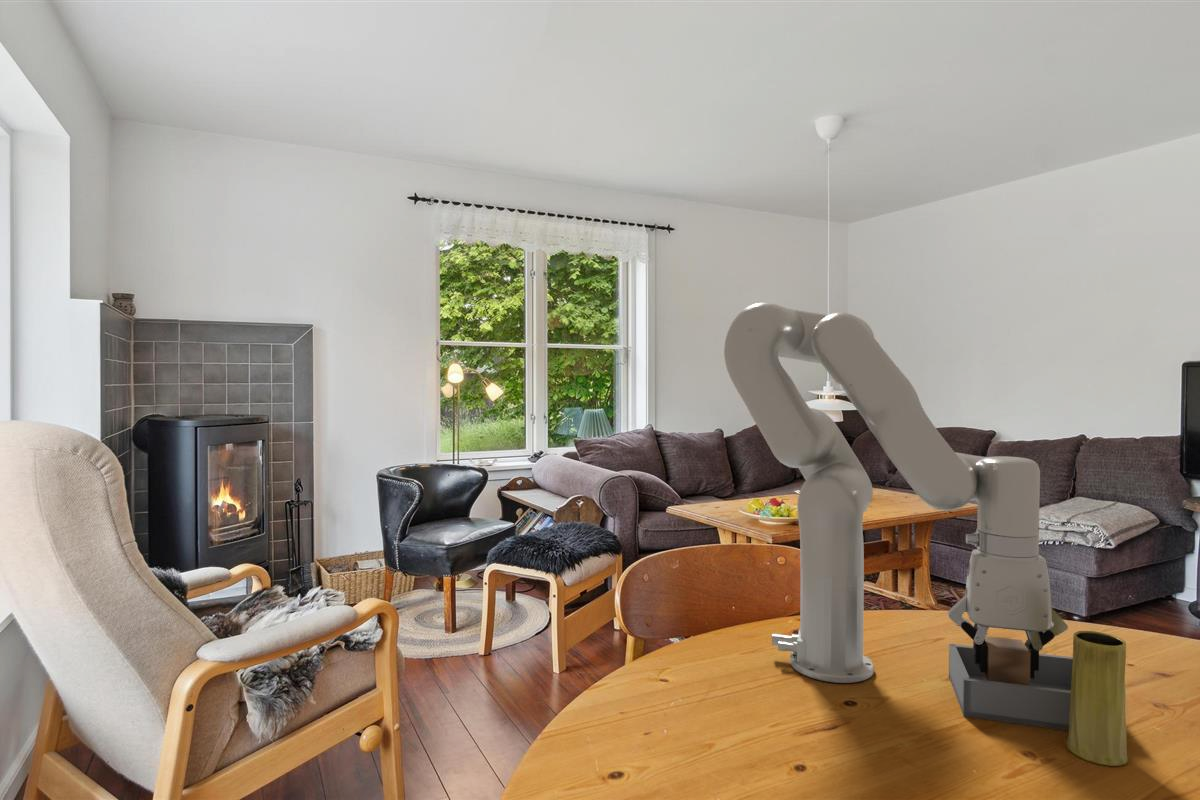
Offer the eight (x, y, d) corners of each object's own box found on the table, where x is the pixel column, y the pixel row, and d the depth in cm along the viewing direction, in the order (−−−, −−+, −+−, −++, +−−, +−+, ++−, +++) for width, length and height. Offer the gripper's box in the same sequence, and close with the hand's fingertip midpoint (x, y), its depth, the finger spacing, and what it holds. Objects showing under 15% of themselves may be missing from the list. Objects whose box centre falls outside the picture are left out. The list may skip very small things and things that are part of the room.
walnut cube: (988, 683, 98) (989, 648, 97) (981, 669, 102) (982, 635, 102) (1029, 688, 96) (1030, 653, 96) (1020, 674, 101) (1021, 639, 101)
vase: (1138, 769, 82) (1141, 649, 81) (1080, 764, 83) (1082, 645, 83) (1112, 743, 88) (1114, 630, 87) (1057, 738, 89) (1060, 627, 89)
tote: (963, 716, 95) (964, 680, 95) (948, 675, 108) (949, 643, 108) (1117, 737, 89) (1118, 698, 89) (1082, 692, 102) (1082, 658, 102)
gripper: (944, 546, 98) (942, 674, 98) (1087, 556, 92) (1084, 691, 93) (936, 534, 105) (935, 654, 105) (1069, 543, 99) (1066, 669, 100)
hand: (1005, 670), depth 99 cm, fingers open, 5 cm apart
